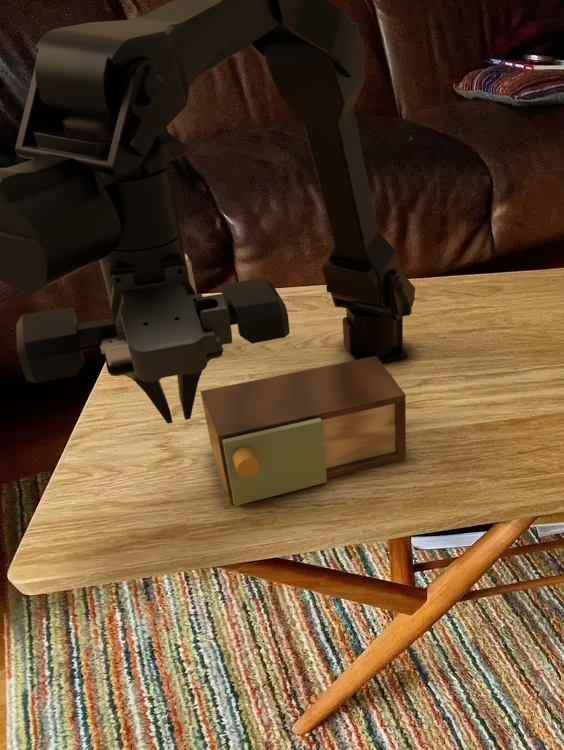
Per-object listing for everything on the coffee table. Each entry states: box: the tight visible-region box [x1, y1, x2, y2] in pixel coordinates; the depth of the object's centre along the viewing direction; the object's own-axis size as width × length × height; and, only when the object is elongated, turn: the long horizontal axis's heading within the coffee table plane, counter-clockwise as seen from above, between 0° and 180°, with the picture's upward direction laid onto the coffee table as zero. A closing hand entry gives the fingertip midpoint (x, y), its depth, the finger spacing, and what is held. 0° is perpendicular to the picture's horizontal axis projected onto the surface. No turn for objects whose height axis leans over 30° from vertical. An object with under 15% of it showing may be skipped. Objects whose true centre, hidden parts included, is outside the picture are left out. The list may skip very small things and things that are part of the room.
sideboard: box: [200, 356, 407, 505], centre depth 76 cm, size 18×8×8 cm, turn 115°
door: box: [222, 418, 328, 507], centre depth 70 cm, size 9×3×7 cm, turn 115°
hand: (178, 418), depth 62 cm, fingers closed
